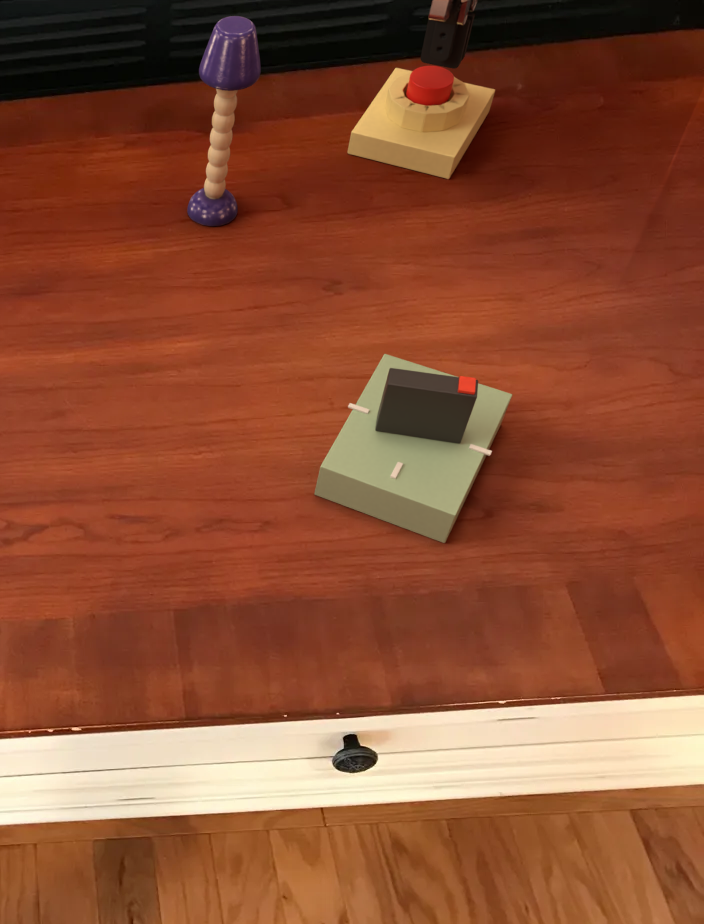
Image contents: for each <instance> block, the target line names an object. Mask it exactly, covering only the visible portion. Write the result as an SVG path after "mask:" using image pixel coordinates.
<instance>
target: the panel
mask: <svg viewBox="0 0 704 924" xmlns="http://www.w3.org/2000/svg"><path fill="white" fill-rule="evenodd" d="M390 368H396V369H403V370H410V371H418V372H425V373H432V374H439V375H446V376H453V377H458V376H456V375H453V374H451V373H447V372H444V371H442V370H438V369H435V368H431V367H428V366H425V365H423V364H419V363H415V362H412V361H409V360H406V359H403V358H400V357H397V356H393V355H391V354H387V353H384V354H383V355H382V358H380V361H379V362H378V364H377V366H376V367H375V369H374V371H373V373H372V374H371V377H370V379H369V380H368V382H367V384H366V385H365V387H364V389H363V391H362V393H361V394H360V396H359V398H358V399H357V401H356V403H351V402H349V403H348V405H347V408H348V409H350V410H351V412H350V414H349V415H348V417H347V419H346V421H344V424H343V426H342V427H341V430H340V431H339V433H338V434H337V437H336V438H335V440H334V442H333V444H332V445H331V447H330V448H329V450H328V452H327V454H326V456H325V458H324V459H323V460H322V463H321V465H320V467H319V471H318V475H317V479H316V480H317V481H316V483H315V484H316V485H315V489H314V495H315V496H317V497H320V498H322V499H324V500H328V501H330V502H333V503H336V504H339V505H341V506H344V507H346V508H349V509H351V510H355V511H357V512H360V513H363V514H365V515H367V516H371V517H373V518H375V519H378V520H381V521H383V522H387V523H389V524H391V525H394V526H397V527H400V528H402V529H405V530H408V531H410V532H413V533H416V534H419V535H421V536H424V537H426V538H428V539H432V540H434V541H438V542H440V543H442V544H446V542H447V540H448V538H449V536H450V533H451V531H452V529H453V527H454V526H455V523H456V521H457V519H458V517H459V515H460V512H461V510H462V508H463V506H464V504H465V503H466V500H467V497H468V495H469V493H470V492H471V489H472V487H473V484H474V483H475V481H476V478H477V476H478V474H479V472H480V470H481V468H482V466H483V463H484V461H485V459H486V457H487V456H488V457H490V456H491V455H492V452H493V450H491V449H490V448H491V446H492V444H493V443H494V441H495V438H496V436H497V434H498V431H499V429H500V428H501V425H502V423H503V420H504V417H505V415H506V412H507V410H508V408H509V405H510V402H511V400H512V398H513V393H510V392H507V391H504V390H502V389H501V390H500V389H497V388H494V387H492V386H488V385H485V384H482V383H479V382H478V392H477V399H476V401H475V404H474V407H473V410H472V413H471V415H470V418H469V421H468V424H467V426H466V429H465V432H464V435H463V438H462V440H461V443H452V442H446V441H439V440H433V439H426V438H419V437H413V436H406V435H400V434H393V433H387V432H380V431H376V430H375V427H376V420H377V414H378V410H379V406H380V402H381V399H382V395H383V391H384V387H385V384H386V380H387V376H388V372H389V369H390Z"/></svg>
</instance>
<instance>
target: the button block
mask: <svg viewBox="0 0 704 924" xmlns="http://www.w3.org/2000/svg"><path fill="white" fill-rule="evenodd" d="M412 71H413V70H409V69H404V68H400V67H395V68H394V70H393V71H392V72H391V74H390V76H389V77H388V78H387V80H386V81H385V83H384V84H383V85H382V87H381V88H380V90H379V91H378V93H377V94H376V95H375V97H374V99H373V100H372V101H371V103H370V104H369V105H368V107H367V109H366V110H365V112H364V113H363V115H362V116H361V118H360V119H359V120H358V122H357V123H356V125H355V126H354V128H353V129H352V130H351V132H350V137H349V142H348V146H347V147H348V148H347V154H348V155H352V156H356V157H360V158H364V159H367V160H371V161H376V162H380V163H384V164H386V165H387V164H388V165H392V166H396V167H399V168H403V169H407V170H411V171H415V172H419V173H422V174H427V175H430V176H431V175H432V176H435V177H439V178H444V179H446V180H449V179H450V178H451V177H452V175H453V174H454V172H455V169H456V168H457V167H458V165H459V164H460V161H461V160H462V158H463V156H464V155H465V154H466V151H467V150H468V148H469V146H470V144H471V143H472V141H473V139H474V138H475V137H476V135H477V132H478V131H479V129H480V128H481V126H482V124H483V123H484V121H485V119H486V117H487V116H488V114H489V113H490V110H491V107H492V103H493V100H494V96H495V93H496V89H494V88H491V87H486V86H482V85H476V84H473V83H469V82H463V81H462V80H460V79H458V78H457V77H455V76H454V82H453V86H452V90H451V94H450V98H449V100H448V101H447V102H446V103H444V104H442V105H432V106H425V105H421V104H417V103H414V102H412V101H411V100H409V99H408V98H407V96H406V92H407V87H408V83H409V78H410V74H411V73H412Z"/></svg>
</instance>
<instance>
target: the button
mask: <svg viewBox="0 0 704 924" xmlns="http://www.w3.org/2000/svg"><path fill="white" fill-rule="evenodd" d="M411 71H412V73H411V74H410V78H409V83H408V87H407V92H406V96H407V98H408V99H409V100H411V101H412V102H414V103H417V104H421V105H425V106H432V105H442V104H444V103H446V102H447V101H448V100H449V98H450V94H451V90H452V86H453V82H454V77H455V76H454V74H453V72H451V70H449V69H448V68H446V67H442V66H437V65H424V66H419V67H417V68H415V69H413V70H411Z"/></svg>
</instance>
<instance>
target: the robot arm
mask: <svg viewBox="0 0 704 924" xmlns="http://www.w3.org/2000/svg"><path fill="white" fill-rule="evenodd" d="M477 3H478V0H431V3H430V4H431V6H430V8H429V13H428V17H427V18H428V20H427V24H426V28H425V34H424V39H423V44H422V48H421V54H420V61H421V62H422V63H424V64H429V65H431V66H439V67H443V68H446V69H448V68H449V69H452V70H454V69H455V70H456V69H458V68H459V66H460V65H461V63H462V62H463V60H464V59H465V57H466V54H467V49H468V46H469V45H468V44H469V40H470V36H471V32H472V27H473V24H474V19H475V16H476V13H473V12H474V11H475V8H476V6H477Z"/></svg>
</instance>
